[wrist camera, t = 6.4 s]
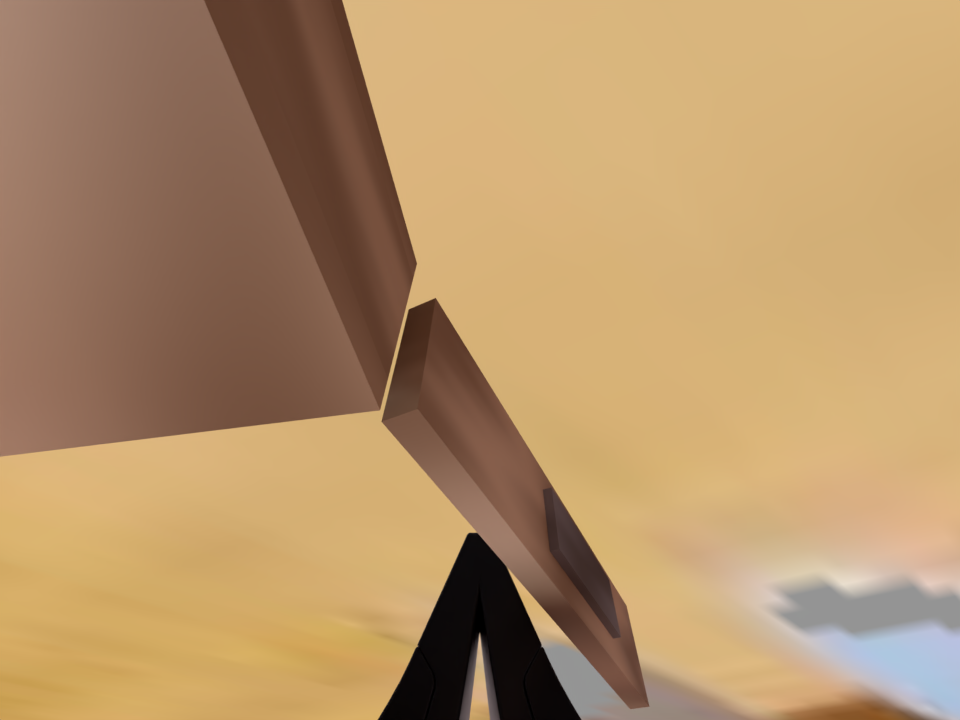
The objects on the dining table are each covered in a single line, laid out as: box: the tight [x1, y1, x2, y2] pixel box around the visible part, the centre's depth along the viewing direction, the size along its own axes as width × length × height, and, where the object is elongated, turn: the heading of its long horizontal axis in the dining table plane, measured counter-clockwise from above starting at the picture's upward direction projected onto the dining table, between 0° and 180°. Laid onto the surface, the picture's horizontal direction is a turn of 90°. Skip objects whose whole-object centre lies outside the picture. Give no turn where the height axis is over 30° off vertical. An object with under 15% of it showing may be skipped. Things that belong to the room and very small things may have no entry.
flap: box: [381, 298, 649, 709], centre depth 12 cm, size 14×1×3 cm, turn 26°
